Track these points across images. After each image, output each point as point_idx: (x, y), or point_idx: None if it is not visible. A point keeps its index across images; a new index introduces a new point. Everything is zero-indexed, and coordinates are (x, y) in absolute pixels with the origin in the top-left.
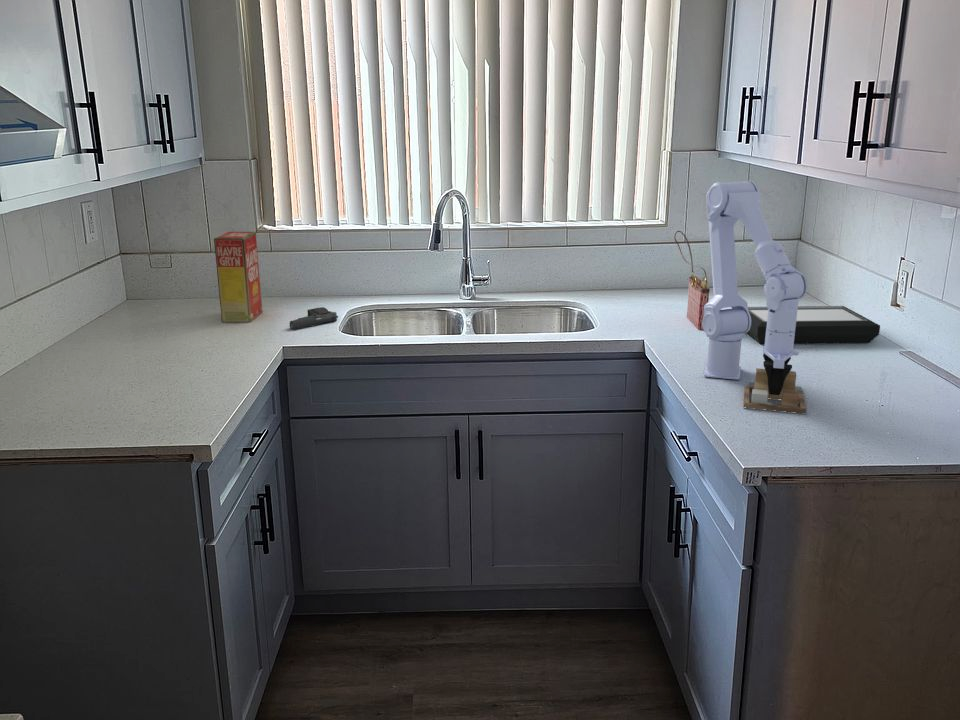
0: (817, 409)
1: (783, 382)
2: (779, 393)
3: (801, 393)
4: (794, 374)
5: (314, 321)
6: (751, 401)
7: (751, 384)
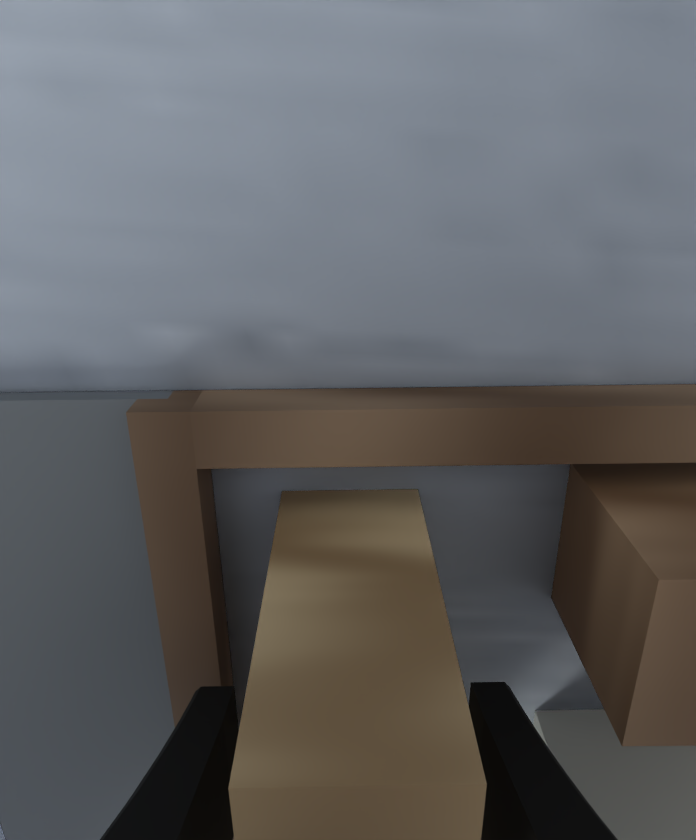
0: (647, 230)
1: (610, 833)
2: (515, 700)
3: (251, 430)
4: (446, 811)
5: None
6: None
7: (75, 831)
